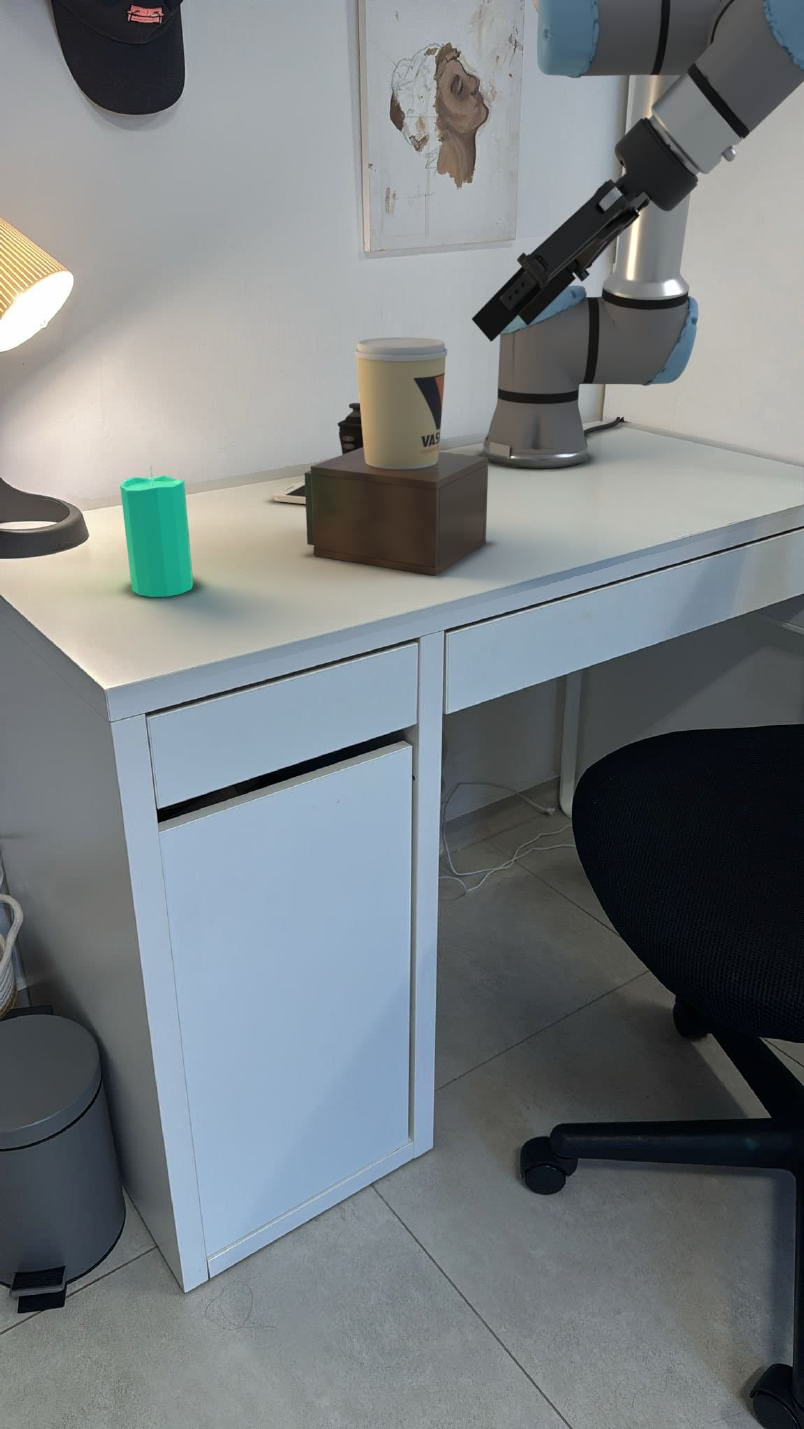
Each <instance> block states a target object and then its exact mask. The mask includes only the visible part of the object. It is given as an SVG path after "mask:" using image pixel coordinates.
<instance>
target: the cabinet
mask: <svg viewBox="0 0 804 1429" xmlns="http://www.w3.org/2000/svg"><path fill="white" fill-rule="evenodd" d="M310 471H311V487H312V513H313V539H314V545H313V556H315V557H321V558H325V559H326V558H327V559H333V560H338V561H339V560H340V561H345V562H349V563H350V562H351V563H358V564H363V565H368V566H369V565H370V566H375V567H382V568H386V569H387V568H388V569H393V570H398V571H399V570H400V571H405V572H413V573H419V574H423V575H429V576H430V575H431V576H436V575H438V574H440V573H441V572H443V571H444V570H446V569H448V568H449V567H451V566H453V565H455V564H456V563H458V562H460V561H461V560H462V559H464V558H465V557H467V556H469V555H471V554H472V553H473V552H476V550H479V549H480V548H482V547H483V546H485V545H487V520H488V519H487V517H488V515H487V514H488V488H489V487H488V486H489V485H488V484H489V460H488V457H483V456H480V455H470V454H461V453H452V452H444V451H439V453H438V461H437V463H436V464H435V465H433V466H430V467H426V468H420V469H409V470H393V469H382V468H376V467H372V466H370V465H368V464H367V463H366V461H365V455H364V447H362V448H359V449H357V450H354V451H351V452H349V453H346V454H343V455H342V454H341V455H338V456H335V457H333V458H330V459H327V460H324V461H322V462H319V463H316V464H314V465H311V466H310Z"/></svg>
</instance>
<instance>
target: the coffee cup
mask: <svg viewBox="0 0 804 1429" xmlns="http://www.w3.org/2000/svg"><path fill="white" fill-rule="evenodd" d="M445 345H446V344H445V341H443V340H440V339H435V338H428V337H412V336H411V337H410V336H409V337H408V336H405V337H404V336H403V337H402V336H401V337H400V336H397V337H395V336H393V337H379V338H378V337H376V338H367V339H363V340H360V341H358V342H357V348H355V349H354V356H355V357H356V369H357V384H358V385H357V386H358V396H359V403H360V410H361V422H362V433H363V445H364V455H365V461H366V463H367V464H368V465H370V466H372V467H376V468H382V469H393V470H409V469H420V468H426V467H430V466H433V465H435V464H436V463H437V461H438V453H439V452H440V440H441V431H442V430H441V427H442V417H443V405H444V392H445V390H444V389H445V374H446V357H447V356H448V349H447V348H446V346H445Z"/></svg>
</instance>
